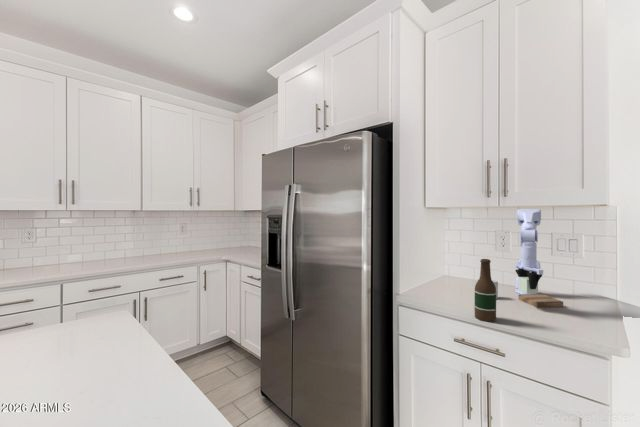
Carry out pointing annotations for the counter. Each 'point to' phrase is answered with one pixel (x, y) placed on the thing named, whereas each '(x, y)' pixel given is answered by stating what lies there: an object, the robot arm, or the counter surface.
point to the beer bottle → (485, 294)
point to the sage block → (526, 285)
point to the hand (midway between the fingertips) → (528, 287)
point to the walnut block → (540, 300)
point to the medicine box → (496, 287)
